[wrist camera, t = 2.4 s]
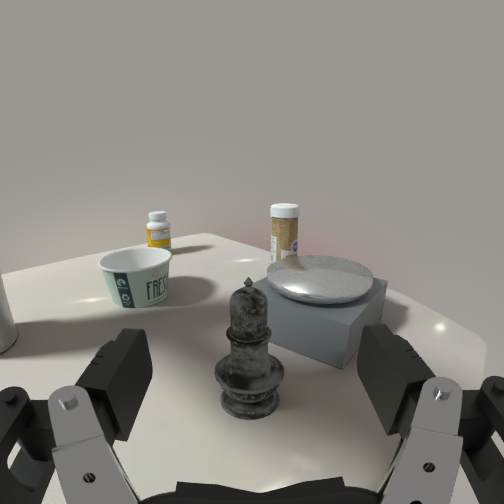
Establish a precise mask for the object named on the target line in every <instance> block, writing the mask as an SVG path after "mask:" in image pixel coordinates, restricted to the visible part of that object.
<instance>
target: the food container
mask: <svg viewBox="0 0 504 504" xmlns="http://www.w3.org/2000/svg"><path fill="white" fill-rule="evenodd" d="M171 258H172V254H171V252H169V251H168V250H165V249H162V248H154V247H140V248H131V249H125V250H120V251H116V252H113V253H110V254H108V255H106V256H104V257H103V258H101V259H100V260H99V262H98V266H99V267H100V268H101V269H102V271H103V274H104V277H105V280H106V283H107V285H108V288H109V291H110V294H111V296H112V299H113V302H114V303H115V304H116V305H118V306H121V307H125V308H142V307H148V306H151V305H154V304H157V303H159V302H161V301H162V300H163V299H165V297H166V296H167V288H168V274H169V261H170V260H171Z"/></svg>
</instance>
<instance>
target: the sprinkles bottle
mask: <svg viewBox="0 0 504 504" xmlns="http://www.w3.org/2000/svg"><path fill="white" fill-rule="evenodd" d="M271 216H272V218H271V219H272V234H271V264H272V263H274V262H276V261H278V260H280V259H284V258H288V257H294V256H297V244H298V243H297V231H298V217H299V206H298V205H295V204H287V203H286V204H285V203H280V204H273V205H271Z"/></svg>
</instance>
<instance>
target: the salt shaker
mask: <svg viewBox="0 0 504 504" xmlns="http://www.w3.org/2000/svg"><path fill="white" fill-rule="evenodd" d="M244 284H245V285H246V286H245V287H243V288H241V289H238V290H237V291H235V292H234V293H233V294H232V296H231V298H230V317H231V326H230V327H229V328H228V329H227V331H226V336H227V338H228V339H229V340H230V341H231V354H229V355H228V356H226V357H224V358H222V359H221V360H220V361H219V362H218V364H217V365H216V367H215V377H216V380H217V381H218V382H219V383H220V385H221V387H222V389H223V390H224V391H223V393H222V395H221V404H222V407H223V408H224V410H225V411H226V412H227V413H229V414H230V415H232V416H234V417H237V418H240V419H246V420H250V419H259V418H263V417H265V416H267V415H269V414H271V413H272V412H273V411H274V410H275V409H276V407H277V406H278V402H279V396H278V393H277V392H276V388H277V387H278V385H279V383H280V382H281V380H282V379H283V376H284V367H283V365H282V364H281V362H280V361H279V360H278V359H277V358H275V357H274V356H272V355H270V354H268V353H267V352H268V340H269V339H270V338H271V336H272V331H271V329H270V328H269V327H268V326H267V309H268V301H267V297H266V295H265V294H264V293H263V292H262V291H261V290H259V289H257V288H254V287H252V284H253V282H252V281H251V279H250V278H247V279H246V281H245V282H244Z"/></svg>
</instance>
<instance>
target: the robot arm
mask: <svg viewBox="0 0 504 504" xmlns="http://www.w3.org/2000/svg"><path fill="white" fill-rule="evenodd" d="M17 336H18V332H17V329H16V326H15V323H14V320H13V317H12V314H11V311H10V307H9V303H8V300H7V296H6V293H5V289H4V285H3V281H2V277H1V273H0V353H2V352H3V351H5V350H7V349H8V348H9V347H10V346H11V345H12V344H13V343H14V342H15V341H16V339H17ZM152 371H153V368H152V361H151V357H150V352H149V347H148V343H147V338H146V333H145V331H144V330H143V329H127V328H124V329H123V330H122V331H121V333H120V334H119V336H118V337H117V338H116V340H115V341H114V340H111V341H109V342H108V343H107V344H105V345H104V346H102V347H101V348H100V350H99V351H98V352H97V354H96V355H95V357H94V358H93V359H92V361H91V364H89V365H88V366H87V368H86V369H85V371H84V372H83V374H82V375H81V377H80V378H79V379H78V381H77V382H76V384H75V385H74V386H65V387H62V388H59V389H57V390H56V391H55V392H53V393H52V394H51V396H50V397H49V399H48V400H30V398H29V396H28V394H27V392H26V391H25V390H24V389H23V388H21V387H8V388H6V389H4V390H2V391H0V504H41V503H42V500H43V497H44V495H45V492H46V490H47V487H48V485H49V482H50V480H51V477H52V475H53V473H54V470H55V468H56V470H57V474H58V477H59V481H60V484H61V487H62V490H63V494H64V497H65V500H66V502H67V504H449V503H450V500H451V496H452V492H453V488H454V484H455V480H456V476H457V471H458V467H459V462H460V464H461V466H462V468H463V470H464V472H465V474H466V476H467V478H468V480H469V482H470V484H471V486H472V488H473V491H474V493H475V495H476V497H477V500H478V502H479V504H504V458H503V456H502V455H501V453H500V452H499V450H498V448H497V447H496V445H495V443H494V442H493V440H492V438H491V436H492V435H493V433H494V432H495V430H496V431H497V432H498V434H499V436H500V437H501V439H502V440H503V442H504V378H503V377H499V376H491V377H488V378H486V379H485V380H484V381H483V383H482V385H481V388H480V390H462V389H461V387H460V386H459V385H458V384H457V383H456V382H455V381H453V380H451V379H448V378H444V377H436V376H435V375H434V373H433V372H432V371H431V370H430V368H429V367H428V366H427V365H426V363H425V362H424V361H423V360H422V358H421V357H419V355H418V353H417V352H416V351H415V350H414V348H413V347H412V346H411V345H410V344H409V342H408V341H407V340H405V339H403V338H402V337H400V336H398V335H393V333H392V332H391V331H390V330H389V328H388V327H387V326H386V325H385V324H384V323H382V324H372V325H365V326H364V328H363V330H362V336H361V342H360V347H359V352H358V358H357V371H358V375H359V377H360V379H361V381H362V383H363V385H364V387H365V389H366V391H367V394H368V396H369V398H370V400H371V402H372V404H373V406H374V408H375V410H376V412H377V415H378V417H379V419H380V421H381V423H382V425H383V428H384V430H385V432H386V434H387V436H388V435H392V434H396V433H399V434H400V436H401V439H400V441H399V443H398V445H397V448H396V450H395V453H394V455H393V457H392V460H391V462H390V464H389V467H388V469H387V471H386V473H385V475H384V478H383V480H382V482H381V484H380V486H379V487H378V489H377V491H376V492H374V491H371V490H368V489H363V488H358V487H350V486H345V485H344V481H343V478H342V477H336V478H329V479H322V480H314V481H306V482H301V483H297V484H294V485H291V486H287V487H284V488H280V489H276V490H272V491H268V492H264V493H256V492H250V491H245V490H240V489H235V488H230V487H226V486H222V485H218V484H200V483H188V482H178V481H177V486H176V491H175V492H168V493H162V494H158V495H155V496H151V497H149V498H146V499H144V500H141V499H140V497H139V496H138V494H137V492H136V491H135V489H134V487H133V485H132V484H131V482H130V480H129V478H128V476H127V474H126V472H125V471H124V469H123V467H122V465H121V463H120V461H119V459H118V457H117V455H116V453H115V451H114V449H113V447H112V446H113V444H114V441H115V440H120V441H126V442H127V440H128V438H129V435H130V432H131V430H132V427H133V424H134V422H135V419H136V417H137V414H138V411H139V409H140V406H141V404H142V401H143V399H144V396H145V394H146V391H147V389H148V386H149V384H150V381H151V379H152ZM16 442H17V443H18V444H19V445H20V447H21V449H20V451H19V452H18V454H17V456H16V458H15V460H14V462H13V464H12V466H11V468H10V469H9V468H8V465H7V459H8V456H9V454H10V452H11V451H12V449H13V447H14V445H15V443H16Z"/></svg>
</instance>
